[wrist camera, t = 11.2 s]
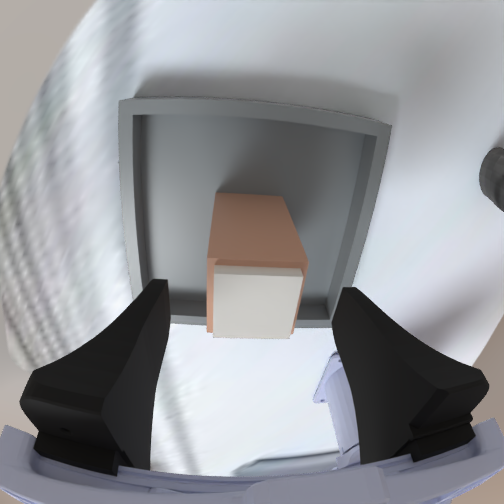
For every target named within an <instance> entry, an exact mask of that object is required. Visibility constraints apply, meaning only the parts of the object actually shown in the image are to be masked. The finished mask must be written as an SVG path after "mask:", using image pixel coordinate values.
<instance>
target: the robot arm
mask: <svg viewBox="0 0 504 504" xmlns="http://www.w3.org/2000/svg"><path fill="white" fill-rule="evenodd" d="M170 321H171V313H170V300H169V287H168V279H154V278H153V279H152V280H151V281H150V282H149V283H148V285H147V286H146V287H145V288H144V289H143V291H142V292H141V293H140V294H139V295H138V296H137V297H136V299H135V300H134V301H133V302H132V303H131V304H130V305H129V306H128V307H127V308H126V309H125V310H124V311H123V312H122V313H121V314H120V315H119V316H118V317H117V318H116V319H115V320H114V321H113V322H112V323H111V324H110V325H109V326H108V327H107V328H105V329H104V330H103V331H102V332H101V333H99V334H98V335H97V336H96V337H94V338H93V339H91V340H90V341H88V342H87V343H85V344H84V345H82V346H81V347H80V348H78V349H76V350H75V351H73V352H71V353H70V354H68V355H66V356H64V357H62V358H60V359H59V360H57V361H54V362H52V363H50V364H48V365H45V366H43V367H41V368H39V369H36V370H34V371H33V372H32V374H31V376H30V378H29V380H28V382H27V384H26V387H25V389H24V391H23V394H22V396H21V399H20V406H21V408H22V410H23V411H24V413H25V414H26V416H27V417H28V418H29V420H30V421H31V422H32V423H33V424H34V426H35V427H36V428H37V429H38V430H39V432H38V435H37V438H36V437H34V436H33V435H31V434H29V433H26V432H24V431H21V430H18V429H16V428H13V427H11V426H8V425H5V426H4V429H3V431H2V434H1V437H0V489H1V490H3V491H4V492H6V493H7V494H9V495H10V496H12V497H14V498H15V499H17V500H19V501H20V502H22V503H24V504H450V503H451V501H452V499H453V498H455V497H457V496H459V495H461V494H463V493H465V492H467V491H469V490H471V489H473V488H475V487H477V486H479V485H480V484H482V483H483V482H485V481H486V480H488V479H489V478H491V477H492V476H493V475H495V474H496V473H497V472H499V471H500V470H502V469H503V468H504V436H503V434H502V432H501V430H500V428H499V426H498V424H497V422H496V420H495V418H490V419H488V420H486V421H483V422H481V423H479V424H477V425H475V426H474V427H472V426H471V424H470V422H471V421H472V420H473V417H472V415H471V411H472V410H473V409H474V408H475V407H476V406H477V405H478V404H479V403H480V402H481V400H482V399H483V398H484V397H485V395H486V394H487V392H488V390H489V383H488V381H487V380H486V378H485V376H484V374H483V373H482V371H481V370H480V369H477V368H474V367H471V366H469V365H466V364H463V363H461V362H458V361H456V360H454V359H452V358H450V357H447V356H446V355H444V354H442V353H440V352H438V351H436V350H434V349H433V348H431V347H429V346H428V345H426V344H424V343H423V342H421V341H420V340H418V339H417V338H416V337H414V336H413V335H411V334H410V333H409V332H407V331H406V330H405V329H403V328H402V327H401V326H400V325H398V324H397V323H396V322H395V321H394V320H392V319H391V318H390V317H389V316H388V315H387V314H385V313H384V312H383V311H382V310H381V309H380V308H379V307H378V306H377V305H375V304H374V303H373V302H372V301H371V300H370V299H369V298H368V297H367V296H366V295H364V294H363V293H362V292H361V291H360V290H359V289H357V288H356V287H343V288H342V291H341V294H340V297H339V301H338V304H337V307H336V310H335V313H334V316H333V319H332V322H331V324H332V330H333V335H334V340H335V344H336V347H337V350H338V353H339V354H338V355H333V356H332V357H331V358H330V360H329V363H328V365H327V368H326V370H325V373H324V375H323V377H322V380H321V382H320V384H319V387H318V389H317V391H316V393H315V396H314V398H313V402H314V403H326V402H328V405H329V409H330V413H331V417H332V421H333V425H334V429H335V434H336V438H337V442H338V446H339V450H340V454H341V456H340V457H337V458H336V462H337V466H338V467H335V468H333V469H332V470H328V471H321V472H313V473H303V474H292V475H279V476H256V477H221V476H198V475H185V474H174V473H165V472H156V471H150V451H151V432H152V420H153V409H154V400H155V392H156V386H157V381H158V377H159V373H160V369H161V365H162V361H163V357H164V353H165V349H166V345H167V341H168V336H169V329H170Z"/></svg>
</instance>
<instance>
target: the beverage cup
mask: <svg viewBox="0 0 504 504" xmlns="http://www.w3.org/2000/svg"><path fill="white" fill-rule="evenodd" d="M479 182H480V187H481V190H482V192H483V193H484V195H485V196H487V197H488V198H489V199H490V200H491V201H492V202H494V204H495V205H496V206H497V207H498V208H500V209H501V210H502V211H503V212H504V149H503V148H500V147H499V148H494V149H493V150H491V151H490V152H489V153H488V154H487V155H486V157H485V158H484V161H483V163H482V165H481V169H480V179H479Z"/></svg>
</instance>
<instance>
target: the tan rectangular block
mask: <svg viewBox="0 0 504 504" xmlns="http://www.w3.org/2000/svg"><path fill="white" fill-rule="evenodd" d="M308 265H309V261H308V258H307V256H306V253H305V251H304V248H303V246H302V243H301V241H300V238H299V236H298V233H297V231H296V228H295V226H294V223H293V221H292V218H291V216H290V213H289V211H288V209H287V206H286V204H285V201H284V199H283V197H282V196H271V195H255V194H238V193H218V192H216V193H215V200H214V207H213V215H212V222H211V230H210V237H209V245H208V253H207V332H210V333H213V337H215V338H247V339H290V335H291V334H293V331H294V327H295V323H296V319H297V314H298V310H299V306H300V301H301V297H302V292H303V288H304V283H305V279H306V274H307V269H308Z"/></svg>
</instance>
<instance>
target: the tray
mask: <svg viewBox="0 0 504 504" xmlns="http://www.w3.org/2000/svg"><path fill="white" fill-rule="evenodd" d="M391 129H392V125H389V124H386V123H383V122H380V121H377V120H374V119H370V118H365V117H361V116H356V115H351V114H346V113H341V112H335V111H329V110H324V109H317V108H311V107H304V106H297V105H290V104H282V103H273V102H264V101H253V100H241V99H226V98H204V97H142V98H130V99H125V100H120V101H119V115H118V138H119V173H120V191H121V205H122V218H123V228H124V238H125V247H126V255H127V263H128V271H129V278H130V285H131V291H132V298H133V301H134V300H135V299H136V297H137V296H138V295H139V294H140V293H141V292H142V291H143V289H144V288H145V287H146V286H147V285H148V283H149V282H150V281H151V280H152V279H153V278H154V279H168V287H169V300H170V313H171V321H170V323H175V324H190V325H207V253H208V245H209V237H210V230H211V222H212V215H213V207H214V200H215V193H216V192H218V193H238V194H255V195H271V196H282V197H283V199H284V201H285V204H286V206H287V209H288V211H289V213H290V216H291V218H292V221H293V223H294V226H295V228H296V231H297V233H298V236H299V238H300V241H301V243H302V246H303V248H304V251H305V253H306V256H307V258H308V261H309V265H308V269H307V274H306V279H305V283H304V288H303V292H302V297H301V301H300V306H299V310H298V314H297V319H296V323H295V327H294V328H332V324H331V322H332V319H333V316H334V313H335V310H336V307H337V304H338V301H339V297H340V294H341V291H342V288H343V287H351V286H352V283H353V280H354V277H355V274H356V270H357V267H358V264H359V260H360V257H361V254H362V250H363V247H364V243H365V240H366V236H367V233H368V229H369V225H370V222H371V218H372V214H373V210H374V206H375V202H376V198H377V194H378V190H379V186H380V182H381V177H382V173H383V168H384V164H385V159H386V154H387V149H388V144H389V139H390V134H391Z"/></svg>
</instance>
